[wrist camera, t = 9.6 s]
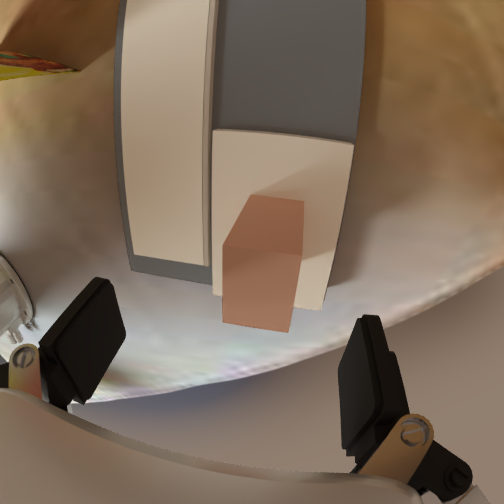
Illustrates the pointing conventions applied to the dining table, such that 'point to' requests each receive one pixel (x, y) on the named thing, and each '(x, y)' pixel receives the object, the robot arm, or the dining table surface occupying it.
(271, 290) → the cream and peach block
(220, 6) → the mat
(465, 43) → the dining table surface
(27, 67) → the food package
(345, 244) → the dining table surface
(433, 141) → the dining table surface
